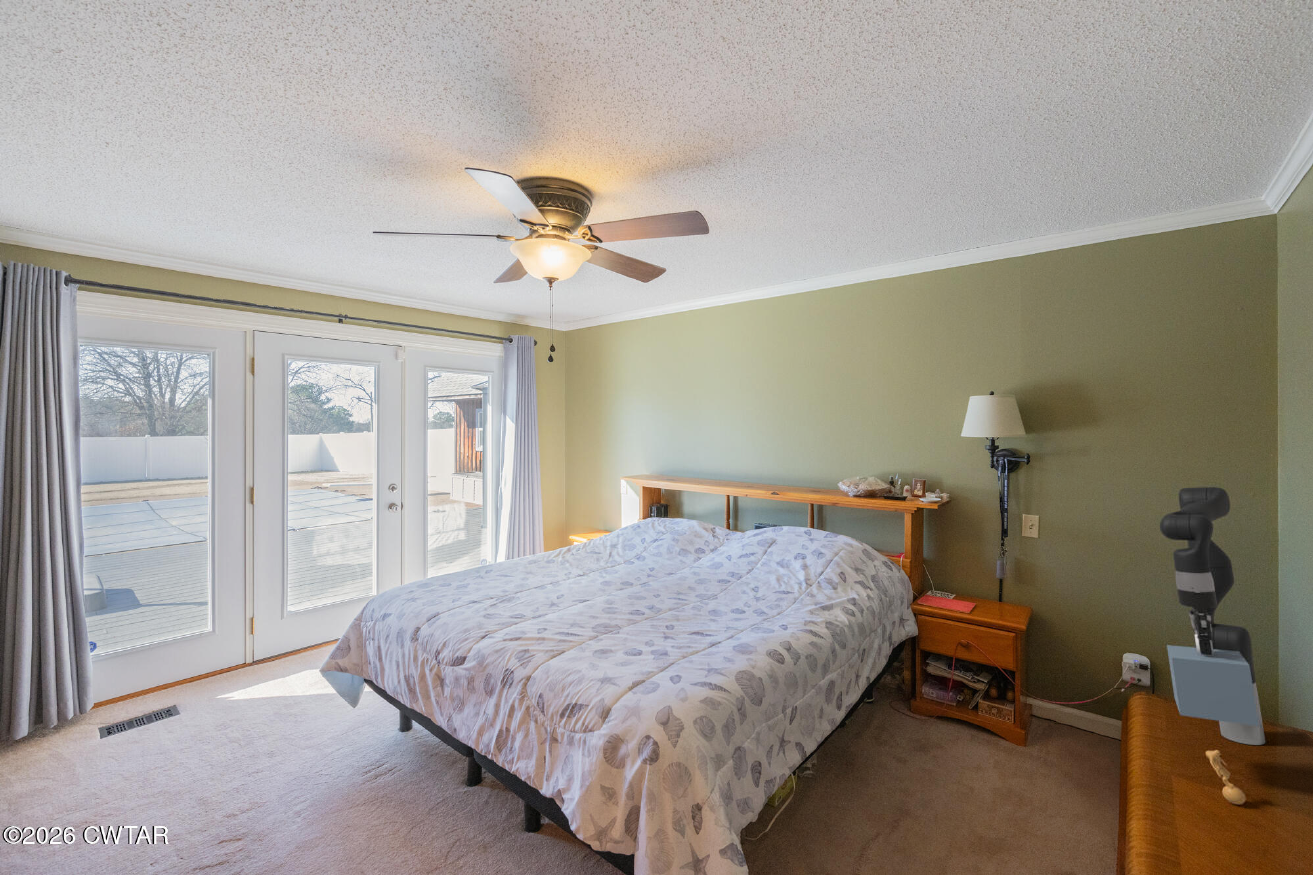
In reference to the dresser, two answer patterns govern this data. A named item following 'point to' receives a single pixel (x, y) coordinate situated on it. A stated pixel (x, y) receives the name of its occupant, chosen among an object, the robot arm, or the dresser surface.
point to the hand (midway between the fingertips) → (1205, 651)
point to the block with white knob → (1212, 684)
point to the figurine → (1225, 779)
